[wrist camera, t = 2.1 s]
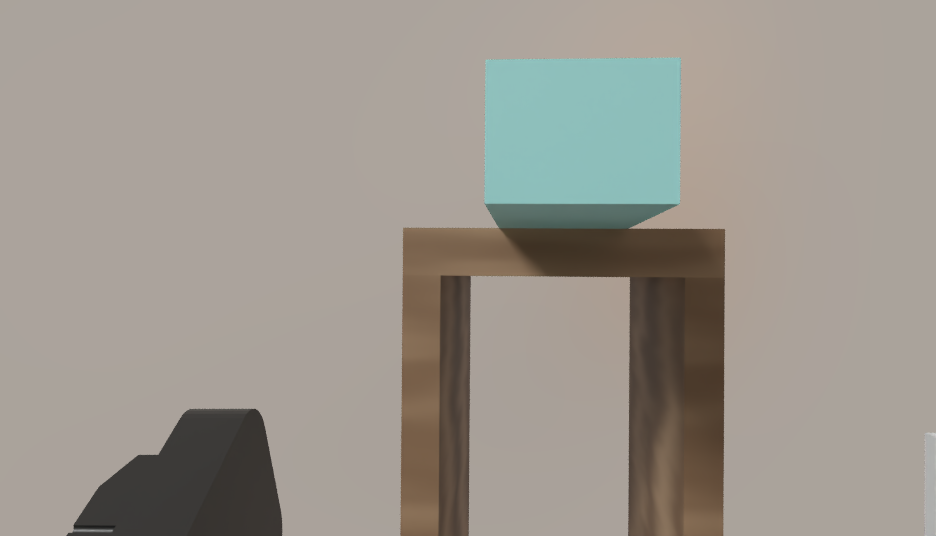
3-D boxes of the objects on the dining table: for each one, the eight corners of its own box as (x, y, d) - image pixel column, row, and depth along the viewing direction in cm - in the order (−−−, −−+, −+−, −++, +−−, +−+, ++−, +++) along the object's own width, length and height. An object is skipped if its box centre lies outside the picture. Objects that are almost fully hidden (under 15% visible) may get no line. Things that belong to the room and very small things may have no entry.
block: (679, 203, 17) (680, 57, 17) (484, 204, 17) (485, 60, 18) (594, 244, 39) (595, 180, 39) (508, 244, 39) (509, 180, 39)
